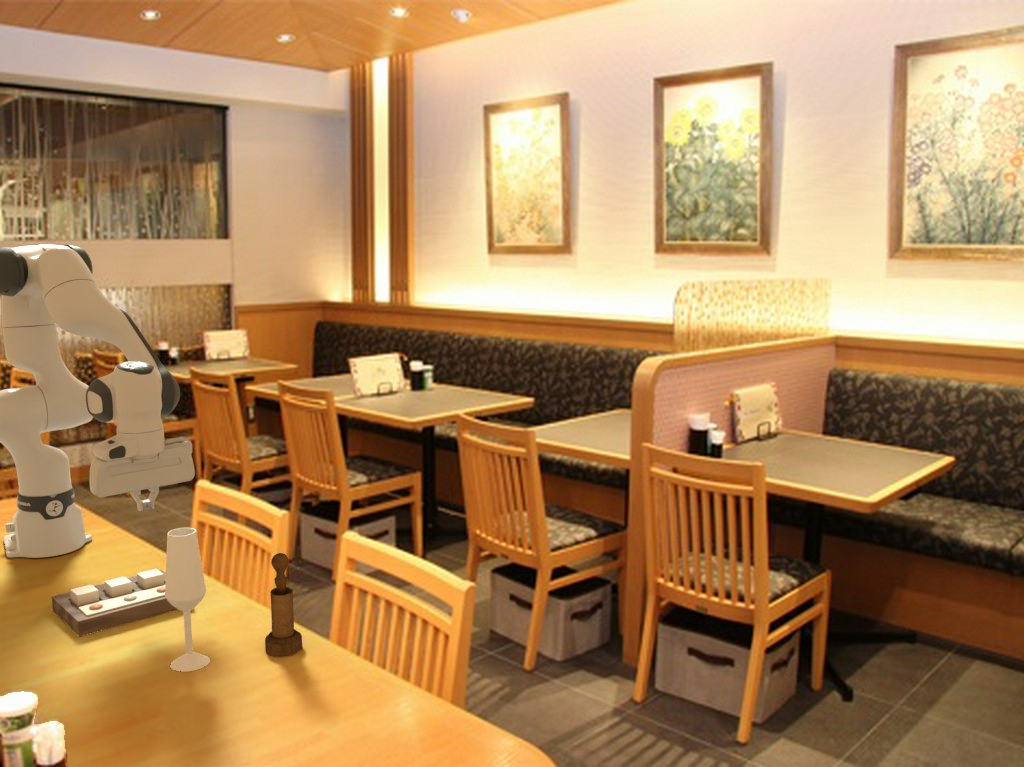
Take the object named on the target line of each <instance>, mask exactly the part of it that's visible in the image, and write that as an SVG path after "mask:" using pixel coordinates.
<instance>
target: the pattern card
mask: <svg viewBox="0 0 1024 767" xmlns="http://www.w3.org/2000/svg"><path fill="white" fill-rule="evenodd" d="M163 596H165V585H162V586H158V587H155V588H151V589H147V590H143V591H139V592H135V593H131V594H127V595H123V596H120V597H116V598H112V599H108V600H104V601H100V602H96V603H92V604H88V605H84V606H81V607H78V609H79V610H80V611H82V612H83V613H84V614H85V615H86V616H91V615H95V614H99V613H102V612H106V611H110V610H114V609H118V608H121V607H125V606H129V605H133V604H137V603H140V602H144V601H148V600H152V599H155V598H159V597H163Z"/></svg>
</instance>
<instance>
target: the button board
mask: <svg viewBox="0 0 1024 767" xmlns="http://www.w3.org/2000/svg"><path fill="white" fill-rule="evenodd" d="M158 570H159V571H160V572H162V573H163V574H164V584H163V585H165V583H166V571H163V569H158ZM126 578H127V579H129V580H130V581H131V582H132V591H133V592H131V593H135V592H139V591H143V590H147V589H151V588H155V587H158V586H155V587H151V588H147V589H142V588H141V587H139V586H138V583H137V575H134V576H130V577H126ZM93 586H94V587H95V588H97V589H98V590H99V601H96V602H100V601H104V600H108V599H112V598H116V597H120V596H123V595H120V596H116V597H112V598H110V597H109V596H108V595H106V594H105V583H100V584H97V585H93ZM159 586H162V585H159ZM131 593H127V594H131ZM127 594H124V595H127ZM96 602H92V603H96ZM92 603H88V604H92ZM51 604H52V606H51V608H52V611H53V613H54V614H55V615H57V617H59V618H60V619H61V620H62V621H63V622H64V623H65V624H66V626H68V628H70V629H71V630H72V631H73V632H74V633H75V634H76V635H77V636H78V637H79V636H80V637H83V635H84V636H87V634H88V635H90V633H91V634H94V632H95V633H98V632H101V630H102V631H105V629H106V630H109V629H113V628H115V627H120V626H123V625H127V624H131V623H134V622H137V621H141V620H145V619H149V618H153V617H156V616H159V615H163V614H167V613H170V611H171V612H174V611H178V610H177V608H175V607H174V606H172V605H171V604H170V603H169V602H168V600H167V599H166V597H165V596H163V597H159V598H155V599H152V600H148V601H144V602H140V603H137V604H133V605H129V606H125V607H121V608H118V609H114V610H110V611H106V612H102V613H99V614H95V615H91V616H86V615H85V614H84V613H83V612H82V611H80V610H79V609H78V607H81V606H84V605H81V606H77V607H76V606H75V605H74V604H73V603H72V601H71V591H68V592H65V593H61V594H57V595H52V596H51ZM88 604H85V605H88ZM97 631H98V632H97Z"/></svg>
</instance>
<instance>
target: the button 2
mask: <svg viewBox="0 0 1024 767" xmlns="http://www.w3.org/2000/svg"><path fill="white" fill-rule="evenodd" d="M159 570H160V569H157V568H153V569H150V570H145V571H141V572H137V573H136V576H137V583H138V586H139V587H141V588H142V589H147V588H151V587H155V586H159V585H163V584H164V574H163V573H162V572H160V571H159Z"/></svg>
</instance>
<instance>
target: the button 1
mask: <svg viewBox="0 0 1024 767" xmlns="http://www.w3.org/2000/svg"><path fill="white" fill-rule="evenodd" d="M94 586H95V585H93V584H92V583H91V584H88V585H84V586H83V585H82V586H79V587H76V588H71V589H70V592H71V601H72V603H73V604H74V605H75V606H76V607H77V606H81V605H85V604H88V603H92V602H96V601H99V590H98V589H97V588H95V587H94Z"/></svg>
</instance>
